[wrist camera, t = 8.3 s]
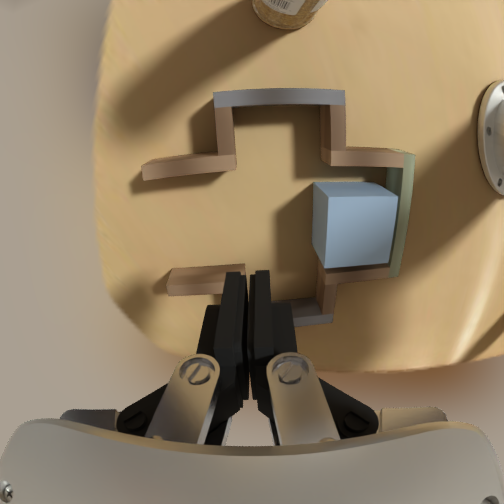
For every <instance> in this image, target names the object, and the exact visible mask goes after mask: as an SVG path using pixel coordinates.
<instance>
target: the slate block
mask: <svg viewBox="0 0 504 504" xmlns="http://www.w3.org/2000/svg"><path fill="white" fill-rule="evenodd" d="M397 203H398V196H397V195H395V194H393V193H392V192H390V191H388V190H387V189H385V188H384V187H382V186H380V185H379V184H377V183H375V182H313V222H312V245H313V247H314V249H315V251H316V253H317V255H318V257H319V259H320V261H321V263H322V265H323V267H324V268H336V267H348V266H359V265H370V264H381V263H388V261H389V256H390V250H391V245H392V239H393V232H394V226H395V219H396V211H397Z"/></svg>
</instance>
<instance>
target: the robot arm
mask: <svg viewBox="0 0 504 504" xmlns="http://www.w3.org/2000/svg"><path fill="white" fill-rule="evenodd" d="M478 147H479V155H480V160H481V164H482V168H483V171H484V173H485V176H486V178H487V180H488V182H489V184H490V185H491V186H492V188H493V189H494V190H495V191H496V192H498V193H499V194H501V195H503V196H504V80H500V81H496V82H494V83H493V84H491V85H490V87H489V88H488V89H487V90H486V93H485V95H484V97H483V99H482V103H481V106H480V111H479V117H478ZM249 373H250V378H251V388H252V396H253V400H257V403H258V410H259V411H260V412H262V413H263V414H264V415H266V416H267V417H268V418H269V425H270V430H271V435H272V440H273V445H274V446H255V447H254V446H248V447H247V446H245V447H244V446H225V445H226V441H227V437H228V433H229V430H230V426H231V422H232V416H233V415H234V414H235V413H237V412H238V411H239V410H240V408H243V400H248V398H249ZM0 504H504V474H503V471H502V468H501V465H500V462H499V459H498V457H497V454H496V452H495V450H494V448H493V446H492V444H491V442H490V440H489V439H488V437H487V436H486V434H485V433H484V432H483V431H482V430H481V429H480V428H478V427H476V426H474V425H472V424H468V423H463V422H454V421H448V420H447V417H446V414H445V413H444V412H443V411H442V410H441V409H439V408H437V407H414V408H382V409H381V411H378V410H372V409H371V408H370V407H368V406H367V405H365V404H363V403H361V402H360V401H358V400H356V399H354V398H352V397H350V396H349V395H347V394H345V393H344V392H342V391H340V390H338V389H337V388H335V387H333V386H332V385H330V384H328V383H327V382H325V381H323V380H322V379H320V378H318V376H317V373H316V371H315V368H314V365H313V364H312V362H311V360H310V359H308V358H307V357H306V356H304V355H302V354H300V353H298V352H297V345H296V337H295V330H294V322H293V315H292V308H291V303H290V302H283V303H271V290H270V273H269V270H260V271H256V272H255V274H253V275H250V289H249V302H248V290H247V279H246V275H241V272H240V271H236V272H226V276H225V282H224V287H223V293H222V299H221V305H208V306H207V308H206V312H205V316H204V320H203V325H202V329H201V334H200V338H199V343H198V348H197V352H196V354H194V355H190V356H188V357H185V358H184V359H182V360H181V361H180V362H179V363H178V365H177V366H176V368H175V370H174V372H173V374H172V376H171V378H170V381H169V383H168V384H166V385H164V386H162V387H161V388H159V389H157V390H156V391H154V392H152V393H151V394H149V395H147V396H146V397H144V398H142V399H140V400H139V401H137V402H135V403H134V404H132V405H130V406H128V407H127V408H125V409H124V410H123V411H122V412H117V410H116V409H107V410H106V409H103V410H87V409H72V410H68V411H66V412H65V413H63V414H62V416H61V417H60V419H52V418H51V419H50V418H48V419H35V420H30V421H27V422H24V423H23V424H21V425H20V426H19V427H18V428H17V429H16V430H15V431H14V433H13V435H12V436H11V438H10V440H9V441H8V443H7V445H6V447H5V450H4V452H3V454H2V457H1V459H0Z"/></svg>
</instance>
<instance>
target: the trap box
mask: <svg viewBox="0 0 504 504" xmlns="http://www.w3.org/2000/svg"><path fill="white" fill-rule="evenodd" d="M213 97H214V110H215V122H216V134H217V145H218V151H215V152H205V153H196V154H188V155H180V156H173V157H166V158H159V159H153V160H151V161H149V162H147V163H145V164H144V165H142V166H141V168H142V175H143V181H146V180H153V179H160V178H167V177H175V176H183V175H191V174H200V173H210V172H221V171H232V170H236V165H237V162H236V149H235V136H234V123H233V109H232V108H235V107H250V106H272V105H319V106H320V139H321V160H322V161H324V162H325V163H327V164H329V165H330V166H372V167H387V174H386V188H385V189H387V190H388V191H390V192H392V193H393V194H395V195H397V196H398V203H397V211H396V219H395V226H394V232H393V239H392V245H391V250H390V256H389V261H388V263H381V264H370V265H359V266H348V267H336V268H324V267H323V265H322V263H321V261H320V259H319V258H318V270H317V285H316V297H313V298H303V299H292V300H281V301H271V303H283V302H290V303H291V308H292V315H293V322H294V327H299V326H308V325H316V324H325V323H332V321H333V314H334V307H335V300H336V292H337V284H341V283H350V282H359V281H368V280H376V279H384V278H392V277H398V274H399V270H400V265H401V260H402V255H403V250H404V245H405V239H406V233H407V227H408V221H409V214H410V206H411V198H412V189H413V179H414V167H415V155H414V154H411V153H408V152H405V151H402V150H399V149H387V148H370V147H346V112H345V90H331V89H309V88H270V89H247V90H233V91H222V92H213ZM236 271H240V272H241V275H246V272H245V264H232V265H218V266H204V267H189V268H174V269H172V271H171V273H170V276H169V278H168V281H167V284H166V288H167V292H168V296H187V295H206V294H222V293H223V287H224V282H225V276H226V272H236Z"/></svg>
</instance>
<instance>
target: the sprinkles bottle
mask: <svg viewBox="0 0 504 504" xmlns="http://www.w3.org/2000/svg"><path fill="white" fill-rule="evenodd" d="M327 1H328V0H252V6H253V9H254V11H255V13H256V14H257V16H258V17H259V18H260V19H261V20H262V21H264V22H265V23H267V24H268V25H270V26H273V27H276V28H280V29H298V28H301V27H303V26H305V25H307V24H308V23H309V22H311V21H312V20H313V19H314V17H315V15H316V13H317V11H318V10H319V9H320V8H321V7H322V6H323V5H324V4H325V3H326V2H327Z"/></svg>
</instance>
